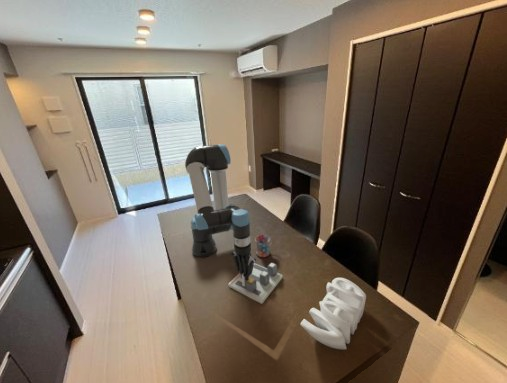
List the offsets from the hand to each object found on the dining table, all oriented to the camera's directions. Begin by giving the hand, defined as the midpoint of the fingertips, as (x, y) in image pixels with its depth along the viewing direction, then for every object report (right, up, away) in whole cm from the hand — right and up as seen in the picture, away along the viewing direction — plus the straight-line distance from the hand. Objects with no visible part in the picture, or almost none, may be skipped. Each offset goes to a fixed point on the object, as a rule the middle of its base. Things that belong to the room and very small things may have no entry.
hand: (245, 284), depth 111 cm
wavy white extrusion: (+38, -9, -16) cm, 43 cm away
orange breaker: (+3, -2, -1) cm, 4 cm away
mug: (+11, +7, +28) cm, 31 cm away
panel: (+5, -1, +6) cm, 8 cm away
